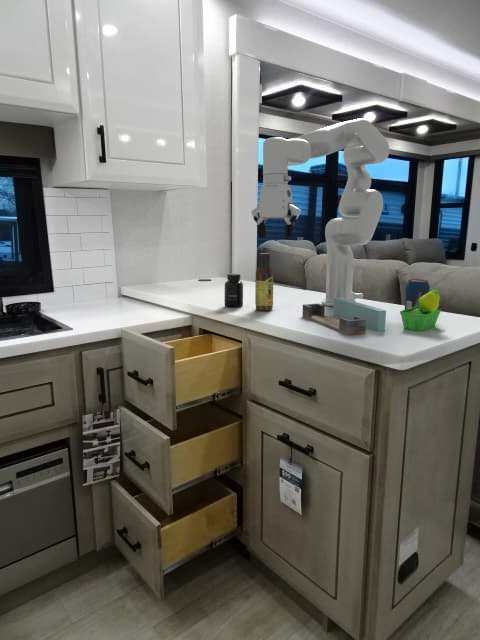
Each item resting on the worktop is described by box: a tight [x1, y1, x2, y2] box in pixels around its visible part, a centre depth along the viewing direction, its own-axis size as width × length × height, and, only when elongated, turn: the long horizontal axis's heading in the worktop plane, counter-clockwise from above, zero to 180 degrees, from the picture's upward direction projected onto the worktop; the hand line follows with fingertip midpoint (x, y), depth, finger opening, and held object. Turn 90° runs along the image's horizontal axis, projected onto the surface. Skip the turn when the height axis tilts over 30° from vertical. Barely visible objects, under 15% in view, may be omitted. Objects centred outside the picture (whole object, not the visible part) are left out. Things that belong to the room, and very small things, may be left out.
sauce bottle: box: [254, 252, 274, 312], centre depth 156 cm, size 6×6×20 cm
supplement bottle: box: [224, 273, 244, 309], centre depth 164 cm, size 7×7×12 cm
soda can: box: [404, 278, 431, 310], centre depth 142 cm, size 7×7×12 cm
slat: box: [332, 298, 387, 332], centre depth 137 cm, size 24×2×6 cm, turn 19°
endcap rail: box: [302, 303, 367, 336], centre depth 134 cm, size 6×27×4 cm, turn 19°
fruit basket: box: [399, 289, 442, 332], centre depth 128 cm, size 11×9×11 cm
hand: (275, 237), depth 141 cm, fingers open, 9 cm apart
